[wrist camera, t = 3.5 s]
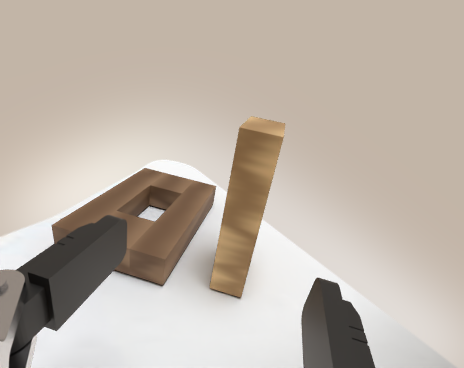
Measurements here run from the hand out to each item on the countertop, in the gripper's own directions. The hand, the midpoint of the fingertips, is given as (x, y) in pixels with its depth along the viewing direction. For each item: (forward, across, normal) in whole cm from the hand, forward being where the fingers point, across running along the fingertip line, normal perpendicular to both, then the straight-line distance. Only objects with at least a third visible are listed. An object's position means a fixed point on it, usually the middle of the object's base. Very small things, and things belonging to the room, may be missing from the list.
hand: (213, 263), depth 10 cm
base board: (+16, +11, +11) cm, 22 cm away
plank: (+12, 0, +11) cm, 16 cm away
